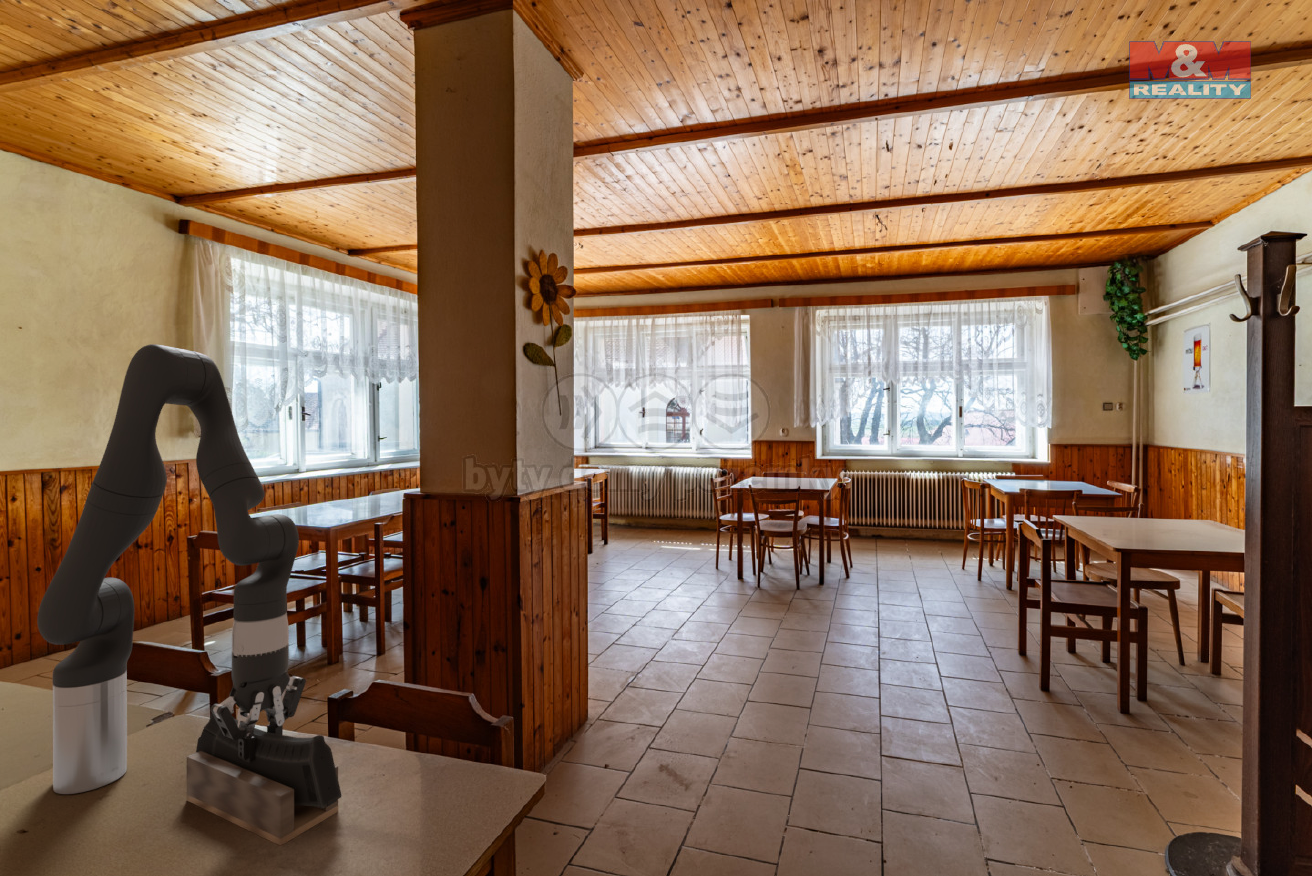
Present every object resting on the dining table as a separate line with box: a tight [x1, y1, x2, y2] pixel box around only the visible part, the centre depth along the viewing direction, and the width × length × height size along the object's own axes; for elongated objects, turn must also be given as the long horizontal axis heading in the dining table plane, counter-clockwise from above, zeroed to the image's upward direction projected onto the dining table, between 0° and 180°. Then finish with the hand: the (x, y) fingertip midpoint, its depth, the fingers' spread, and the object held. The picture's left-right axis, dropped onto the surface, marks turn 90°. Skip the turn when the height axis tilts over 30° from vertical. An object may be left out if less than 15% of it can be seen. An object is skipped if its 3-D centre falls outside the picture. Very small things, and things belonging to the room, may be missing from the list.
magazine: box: [195, 712, 342, 808], centre depth 97 cm, size 17×3×30 cm
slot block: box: [186, 751, 339, 847], centre depth 98 cm, size 24×9×7 cm, turn 63°
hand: (260, 754), depth 98 cm, fingers closed on magazine, 3 cm apart
